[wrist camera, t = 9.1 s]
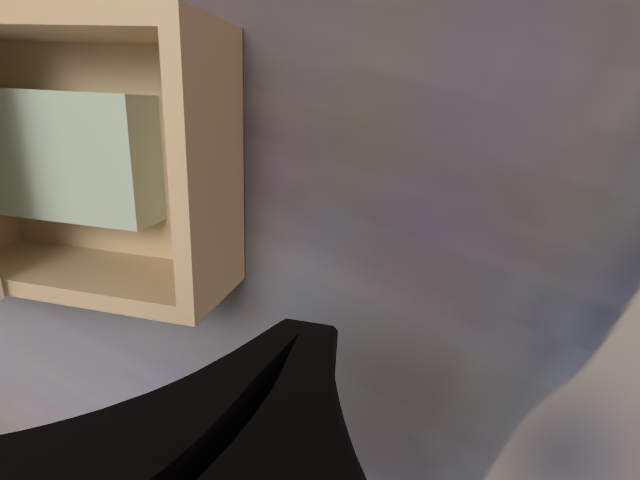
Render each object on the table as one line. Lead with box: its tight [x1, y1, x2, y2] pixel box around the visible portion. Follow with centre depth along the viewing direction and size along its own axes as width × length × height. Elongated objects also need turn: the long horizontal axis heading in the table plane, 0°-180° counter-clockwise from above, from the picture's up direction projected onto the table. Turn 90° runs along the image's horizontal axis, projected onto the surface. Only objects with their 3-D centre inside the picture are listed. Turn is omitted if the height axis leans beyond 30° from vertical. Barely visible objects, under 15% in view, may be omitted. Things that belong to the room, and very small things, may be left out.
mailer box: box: [0, 0, 245, 327], centre depth 19 cm, size 12×14×5 cm
